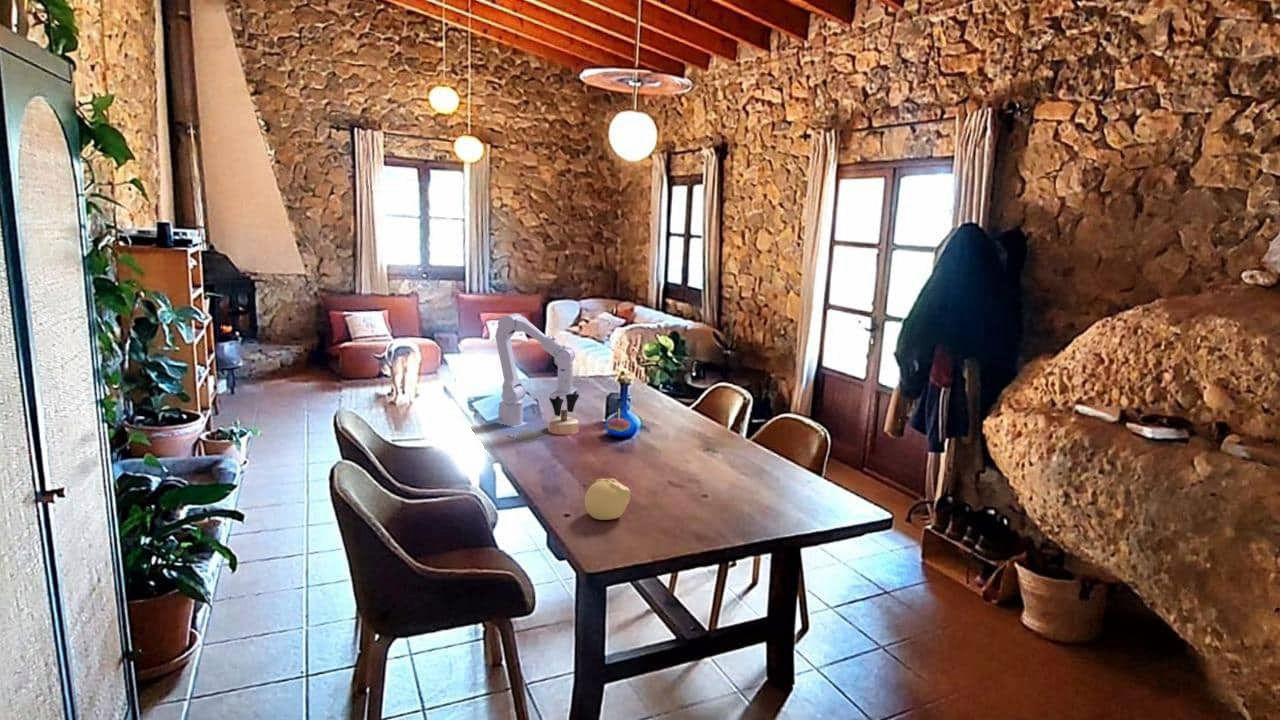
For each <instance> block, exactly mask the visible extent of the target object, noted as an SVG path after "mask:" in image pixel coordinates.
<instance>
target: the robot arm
mask: <svg viewBox="0 0 1280 720" xmlns="http://www.w3.org/2000/svg"><path fill="white" fill-rule="evenodd" d="M497 325H498V326H497V329H496V332H495V341H496V346H497V350H498V357H499V361H500V365H501V366H500V367H501V370H502V375H503V380H504V381H503V384H502V386H501V388H502V393H501V399H502V401H501V402H500V403H499V405H498V409H497V410H498V413H497V414H498V415H497V417H498V419H497V420H498V421H497V422H496V424H498V423H499V425H502V423H504V425H503V426H505V424H506V425H508V426H507V427H509V426H511V427H510V428H513V427H515V428H518V427H521V426H524V425H527V424H528V422H526V421H523V420H524V400H523V399H524V398H525V397H526V393H527V391H526V388H525V386H524V385H523V382H522V380H521V379H520V378H519V376H518V371H517V366H516V362H515V356H514V351H513V347H512V341H511V338H512V337H513V335H514V334H515V333H517V332H521V333H526V334H527V335H528V336H530V337H531V338H533V339H534V340H536V341H537V342H539V343H540V344H541V348H542V349H543V350H544V351H546V352H547V353H549V354H550V355H551V356H552V357H554V358H555V360H556V363H557V385H556V388H557V389H556V390H555V391H552V392H551V393H550V395H549V401H550V404H551V406H552V408H553V412H554V416H556V417H561V410H562V405H563V403H564V399H563V398H561V397H564V396H565V399H566V408H567V409H566V410H567V413H568V412H569V413H573V412H574V408H575V405H576V403H577V400H578V399H579V397H580V394H579V387H574V386H573V375H574V374H573V371H574V368H573V366H574V365H573V364H574V363H573V361H574V360H575V359H576V353H575V350H573V348H571V347H567V345H565V344H563V343H561V342H560V341H558V340H557V339H558V338H557V337H556V336H552V335H549V336H547V335H546V334H545V333H543V331H541V330H539V329H538V327H536V326H535V325H534V324H533V323H531V322H530V321H529V320H528V318H527V317H525V316H523V315H522V314H521V313H518V312H514V313H511V314H507V315H503V316H502V317H501V318H500V319H499V320H498V321H497ZM517 426H518V427H517Z"/></svg>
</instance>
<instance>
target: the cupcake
mask: <svg viewBox="0 0 1280 720" xmlns="http://www.w3.org/2000/svg"><path fill="white" fill-rule="evenodd" d="M617 410H618V411H617V412H618V413H617V414H618V415H617V417H616V418H617V419H615V418H612V419H610V420H609V422H608V423H607V427H608V428H609V429H610V430H611V429H613V430H616V431H619V432H620V431H621V432H623V431H625V430H627V429H628V430H629V429H630V428H631V427H630V425H631V424H630V421H629V420H626V419H625V418H623V417H621V408H620V407H618V409H617ZM624 419H625V420H624ZM628 430H627V431H628Z"/></svg>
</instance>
